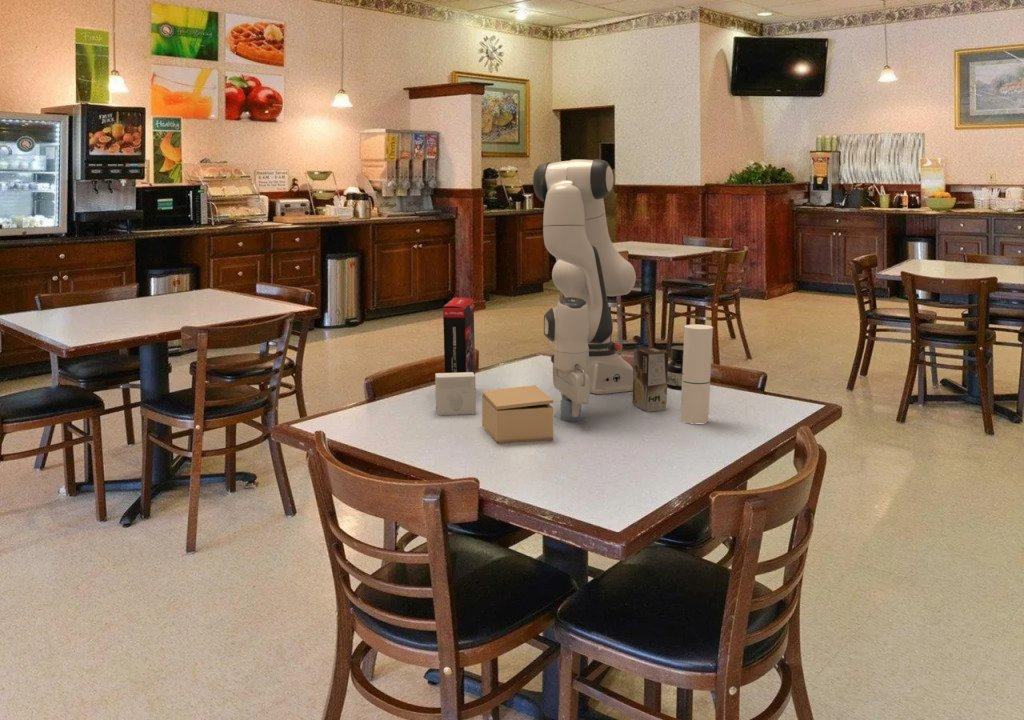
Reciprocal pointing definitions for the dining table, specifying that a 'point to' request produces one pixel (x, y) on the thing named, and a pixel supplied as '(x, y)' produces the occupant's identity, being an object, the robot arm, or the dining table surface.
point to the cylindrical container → (696, 373)
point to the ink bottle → (675, 368)
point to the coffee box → (650, 379)
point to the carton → (518, 422)
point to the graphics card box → (459, 336)
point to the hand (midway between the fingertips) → (570, 412)
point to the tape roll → (568, 411)
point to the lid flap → (517, 397)
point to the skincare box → (455, 393)
